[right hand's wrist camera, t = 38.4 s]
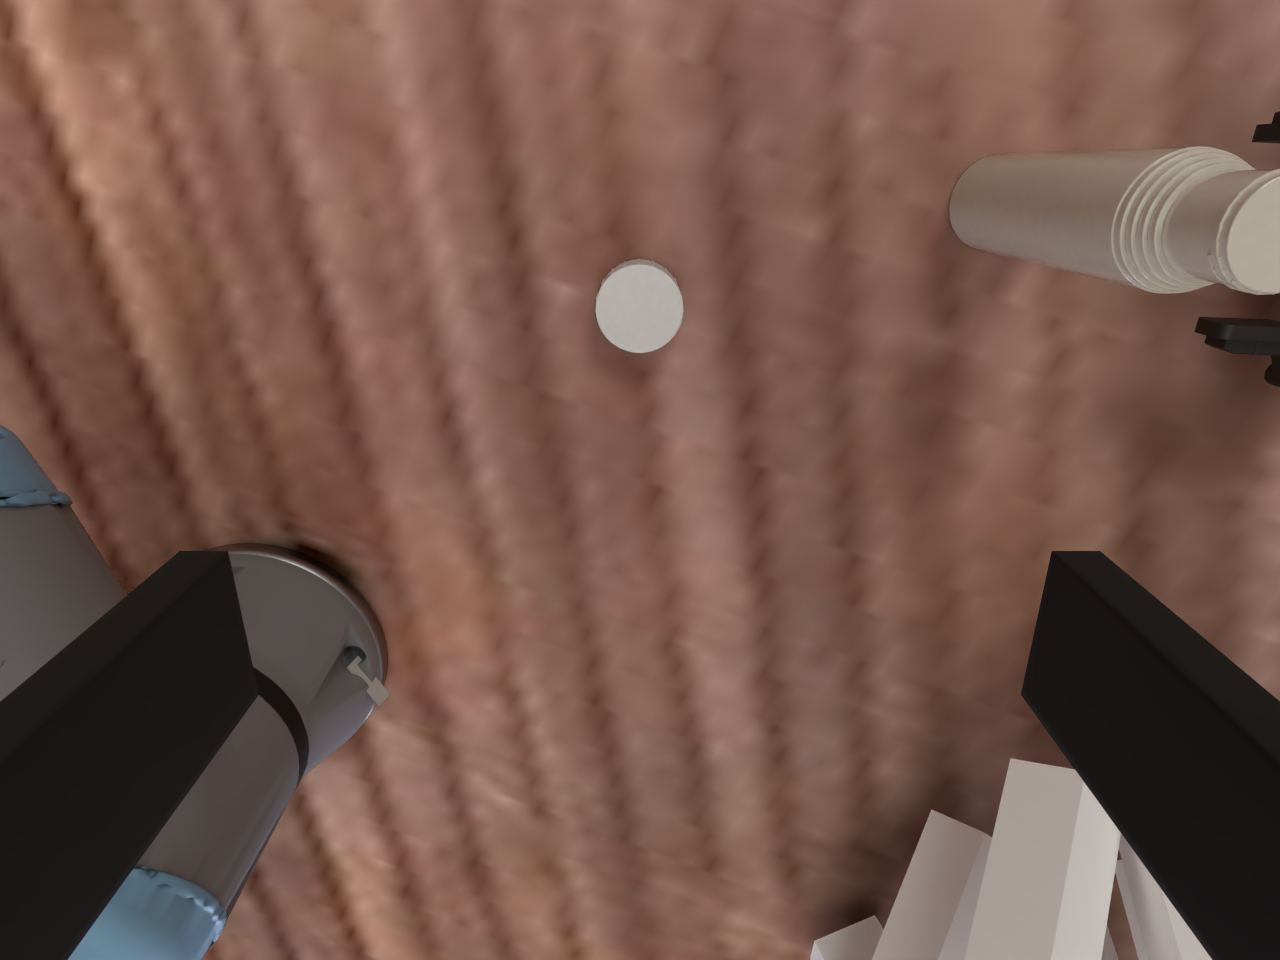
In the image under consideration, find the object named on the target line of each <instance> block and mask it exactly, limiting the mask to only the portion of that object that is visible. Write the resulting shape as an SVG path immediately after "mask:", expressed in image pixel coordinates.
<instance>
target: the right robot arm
mask: <svg viewBox="0 0 1280 960" xmlns="http://www.w3.org/2000/svg"><path fill="white" fill-rule="evenodd" d="M72 503H73V502H72V501H71V499H70V497H69V496H68V495H66V494H65V493H62V492H59V491H58V489H57V488H56V487H55V486H54V484H53V483H52V482H51V481H50V479H49V478H48V477H47V475H46V474H45V473H44V471H43V470H42V468H41V467H40V466H39V464H38V463H37V462H36V460H35V459H34V458H33V456H32V455H31V453H30V452H29V451H28V449H27V448H26V447H25V445H24V444H23V443H22V441H21V440H20V439H19V438H18V437H17V436H16V435H15V434H14V433H13V432H11V431H10V430H8V429H7V428H5V427H3V426H1V425H0V960H201V959H202V957H203V955H204V954H205V952H206V951H207V949H208V947H210V946H211V945H212V944H213V943H214V942H215V941H216V940H217V939H218V938H219V936H220V935H221V933H222V930H223V928H224V926H225V925H226V924H225V922H226V920H227V918H228V916H229V915H230V913H231V911H232V909H233V907H234V905H235V903H236V901H237V899H238V898H239V896H240V894H241V892H242V890H243V888H244V886H245V884H246V882H247V881H248V879H249V877H250V875H251V873H252V871H253V869H254V867H255V865H256V864H257V862H258V860H259V858H260V856H261V854H262V852H263V850H264V848H265V847H266V845H267V843H268V841H269V839H270V837H271V835H272V833H273V831H274V830H275V828H276V826H277V824H278V822H279V820H280V818H281V816H282V814H283V812H284V811H285V809H286V807H287V805H288V803H289V801H290V799H291V797H292V795H293V793H294V791H295V790H296V788H297V786H298V784H299V782H300V781H301V779H302V777H303V776H304V775H306V774H307V773H308V772H309V771H311V770H312V769H313V768H314V767H315V766H317V765H318V764H319V763H320V762H322V761H323V760H324V759H325V758H326V757H328V756H329V755H330V754H331V753H332V752H334V751H335V750H336V749H337V748H339V747H340V746H341V745H342V744H343V743H345V742H346V741H347V740H348V739H349V738H350V737H351V736H353V734H354V733H355V732H356V731H357V730H358V729H359V728H360V726H361V725H362V724H363V723H364V721H365V720H366V719H367V717H368V716H369V714H370V713H371V711H372V709H373V708H374V706H375V703H377V705H378V706H380V705H381V704H382V703H383V701H384V700H385V699H386V698H387V697H388V696H389V694H390V693H389V692H388V691H387V690H386V688H385V687H384V682H385V679H386V674H387V664H388V657H387V647H386V642H385V638H384V635H383V631H382V629H381V626H380V624H379V621H378V619H377V618H376V616H375V614H374V612H373V610H372V609H371V607H370V606H369V604H368V603H367V602H366V600H365V599H364V598H363V597H362V595H361V594H360V593H359V592H358V591H357V590H356V589H355V588H354V587H353V586H352V585H351V584H350V583H349V582H348V581H347V580H346V579H344V578H343V577H342V576H341V575H339V574H338V573H337V572H335V571H334V570H332V569H331V568H329V567H328V566H326V565H324V564H323V563H321V562H319V561H317V560H315V559H313V558H311V557H309V556H306V555H304V554H301V553H299V552H296V551H293V550H289V549H286V548H282V547H277V546H272V545H265V544H252V543H245V544H231V545H224V546H220V547H215V548H212V549H209V550H206V551H180V552H178V553H177V554H176V555H175V556H174V557H172V558H171V559H170V560H169V561H168V562H166V563H165V564H164V565H163V566H162V567H161V568H159V569H158V570H157V571H156V572H155V573H153V574H152V575H151V576H150V577H149V578H147V579H146V580H145V581H144V582H143V583H141V584H140V585H139V586H138V587H137V588H135V589H134V590H133V591H132V592H131V593H129V594H128V595H127V594H126V593H125V591H124V590H123V588H122V587H121V585H120V583H119V582H118V580H117V579H116V577H115V576H114V574H113V572H112V571H111V569H110V568H109V566H108V565H107V563H106V562H105V560H104V558H103V557H102V555H101V554H100V552H99V551H98V549H97V547H96V546H95V544H94V543H93V541H92V540H91V538H90V536H89V535H88V533H87V532H86V530H85V529H84V527H83V525H82V524H81V522H80V521H79V519H78V518H77V516H76V515H75V513H74V511H73V510H72V508H71V507H70V505H71V504H72ZM1021 695H1022V697H1023V698H1024V699H1025V701H1026V702H1027V704H1028V705H1029V706H1030V708H1031V709H1032V710H1033V712H1034V713H1035V715H1036V716H1037V717H1038V719H1039V720H1040V722H1041V723H1042V724H1043V726H1044V727H1045V729H1046V730H1047V731H1048V733H1049V734H1050V735H1051V737H1052V738H1053V740H1054V741H1055V742H1056V744H1057V745H1058V747H1059V748H1060V749H1061V751H1062V752H1063V753H1064V755H1065V756H1066V758H1067V759H1068V760H1069V762H1070V763H1071V765H1072V766H1073V767H1074V769H1075V770H1076V771H1077V773H1078V774H1079V776H1080V777H1081V778H1082V780H1083V781H1084V783H1085V784H1086V785H1087V787H1088V788H1089V790H1090V791H1091V792H1092V794H1093V795H1094V796H1095V798H1096V799H1097V801H1098V802H1099V803H1100V805H1101V806H1102V808H1103V809H1104V810H1105V812H1106V813H1107V814H1108V816H1109V817H1110V819H1111V820H1112V821H1113V823H1114V824H1115V826H1116V827H1117V828H1118V830H1119V831H1120V832H1121V834H1122V835H1123V837H1124V838H1125V839H1126V841H1127V842H1128V844H1129V845H1130V846H1131V848H1132V849H1133V851H1134V852H1135V853H1136V855H1137V856H1138V857H1139V859H1140V860H1141V862H1142V863H1143V864H1144V866H1145V867H1146V869H1147V870H1148V871H1149V873H1150V874H1151V875H1152V877H1153V878H1154V880H1155V881H1156V882H1157V884H1158V885H1159V887H1160V888H1161V889H1162V891H1163V892H1164V893H1165V895H1166V896H1167V898H1168V899H1169V900H1170V902H1171V903H1172V905H1173V906H1174V907H1175V909H1176V910H1177V912H1178V913H1179V914H1180V916H1181V917H1182V918H1183V920H1184V921H1185V923H1186V924H1187V925H1188V927H1189V928H1190V930H1191V931H1192V932H1193V934H1194V935H1195V936H1196V938H1197V939H1198V941H1199V942H1200V943H1201V945H1202V946H1203V948H1204V949H1205V950H1206V952H1207V953H1208V954H1209V956H1210V957H1211V959H1212V960H1280V701H1278V700H1277V699H1276V698H1275V697H1274V696H1272V695H1271V694H1270V693H1269V692H1268V691H1266V690H1265V689H1264V688H1263V687H1262V686H1261V685H1259V684H1258V683H1257V682H1256V681H1255V680H1253V679H1252V678H1251V677H1250V676H1249V675H1247V674H1246V673H1245V672H1244V671H1243V670H1241V669H1240V668H1239V667H1238V666H1237V665H1235V664H1234V663H1233V662H1232V661H1231V660H1229V659H1228V658H1227V657H1226V656H1225V655H1223V654H1222V653H1221V652H1220V651H1219V650H1217V649H1216V648H1215V647H1214V646H1213V645H1212V644H1210V643H1209V642H1208V641H1207V640H1206V639H1204V638H1203V637H1202V636H1201V635H1200V634H1198V633H1197V632H1196V631H1195V630H1194V629H1192V628H1191V627H1190V626H1189V625H1188V624H1186V623H1185V622H1184V621H1183V620H1182V619H1180V618H1179V617H1178V616H1177V615H1176V614H1174V613H1173V612H1172V611H1171V610H1170V609H1168V608H1167V607H1166V606H1165V605H1164V604H1163V603H1161V602H1160V601H1159V600H1158V599H1157V598H1155V597H1154V596H1153V595H1152V594H1151V593H1149V592H1148V591H1147V590H1146V589H1145V588H1143V587H1142V586H1141V585H1140V584H1139V583H1137V582H1136V581H1135V580H1134V579H1133V578H1131V577H1130V576H1129V575H1128V574H1127V573H1125V572H1124V571H1123V570H1122V569H1121V568H1119V567H1118V566H1117V565H1116V564H1115V563H1114V562H1112V561H1111V560H1110V559H1109V558H1108V557H1106V556H1105V555H1104V554H1103V553H1102V552H1100V551H1052V553H1051V558H1050V562H1049V567H1048V571H1047V576H1046V581H1045V585H1044V590H1043V595H1042V599H1041V604H1040V609H1039V613H1038V618H1037V623H1036V627H1035V632H1034V637H1033V641H1032V646H1031V651H1030V655H1029V660H1028V664H1027V669H1026V674H1025V678H1024V683H1023V688H1022V692H1021Z"/></svg>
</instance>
